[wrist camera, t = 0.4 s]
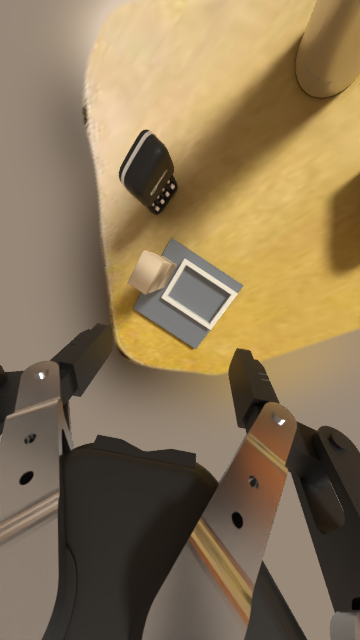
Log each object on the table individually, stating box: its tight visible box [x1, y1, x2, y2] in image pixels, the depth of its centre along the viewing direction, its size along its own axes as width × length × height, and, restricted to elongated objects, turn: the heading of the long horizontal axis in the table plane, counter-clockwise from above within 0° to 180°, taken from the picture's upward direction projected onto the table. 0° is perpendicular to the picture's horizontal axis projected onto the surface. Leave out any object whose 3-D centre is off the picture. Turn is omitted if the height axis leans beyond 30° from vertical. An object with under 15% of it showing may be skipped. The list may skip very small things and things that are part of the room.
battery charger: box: [119, 130, 177, 215], centre depth 26 cm, size 7×4×11 cm, turn 139°
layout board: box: [134, 238, 243, 349], centre depth 35 cm, size 16×16×2 cm
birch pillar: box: [127, 250, 177, 295], centre depth 29 cm, size 5×3×11 cm, turn 148°
